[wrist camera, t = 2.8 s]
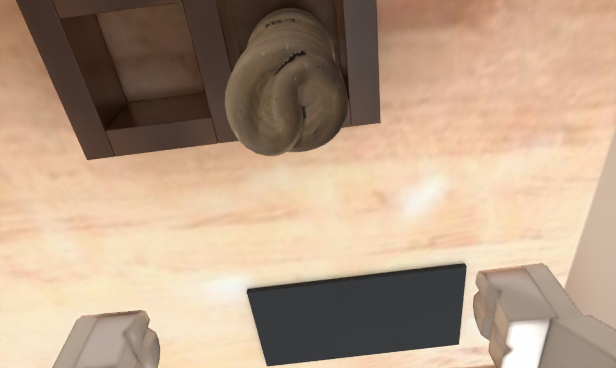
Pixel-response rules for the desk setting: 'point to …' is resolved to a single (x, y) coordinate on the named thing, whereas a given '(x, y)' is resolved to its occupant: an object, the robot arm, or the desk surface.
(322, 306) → the mat
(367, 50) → the stand
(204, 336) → the desk surface
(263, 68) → the light bulb
